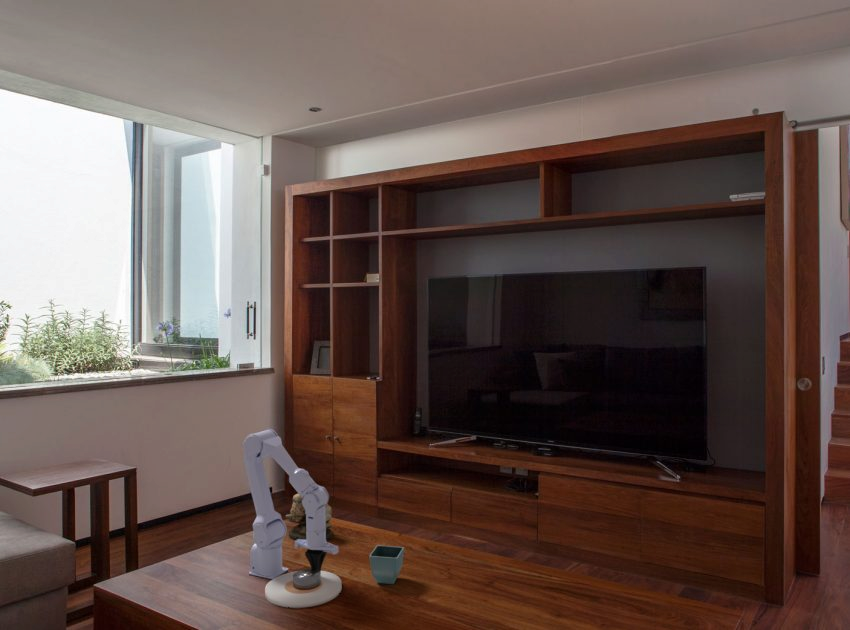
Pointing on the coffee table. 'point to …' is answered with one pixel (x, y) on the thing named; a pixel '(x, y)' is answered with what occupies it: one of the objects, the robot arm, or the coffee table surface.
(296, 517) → the owl figurine
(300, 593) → the turntable
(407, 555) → the coffee table surface
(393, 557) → the flower pot
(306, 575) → the cast cover
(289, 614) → the coffee table surface
